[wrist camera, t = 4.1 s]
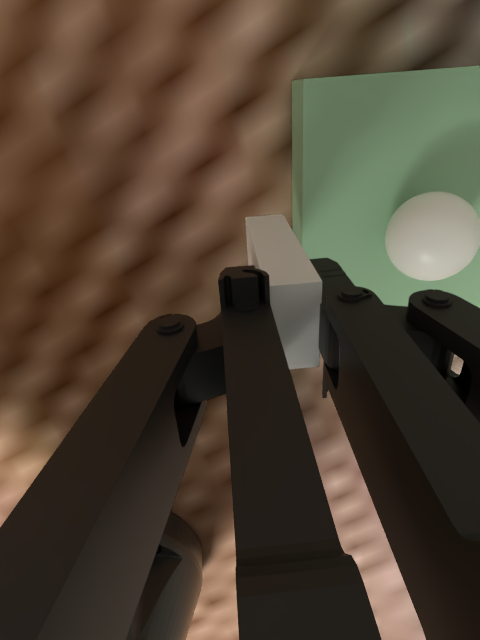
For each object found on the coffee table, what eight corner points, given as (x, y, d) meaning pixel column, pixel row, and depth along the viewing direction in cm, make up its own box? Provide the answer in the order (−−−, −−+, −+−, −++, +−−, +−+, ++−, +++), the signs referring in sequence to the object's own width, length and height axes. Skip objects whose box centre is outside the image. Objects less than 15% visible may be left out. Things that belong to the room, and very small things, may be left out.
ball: (369, 265, 19) (400, 299, 16) (376, 187, 18) (413, 207, 14) (444, 258, 19) (490, 291, 16) (458, 179, 18) (513, 199, 14)
